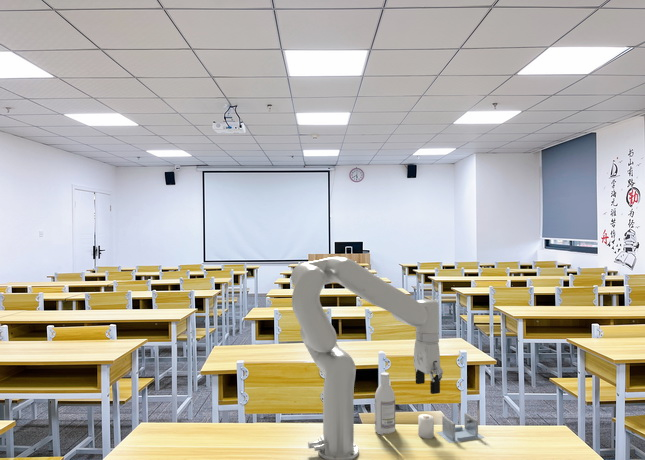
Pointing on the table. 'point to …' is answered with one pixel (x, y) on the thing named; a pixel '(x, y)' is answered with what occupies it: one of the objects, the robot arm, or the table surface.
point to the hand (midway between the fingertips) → (427, 388)
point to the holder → (460, 435)
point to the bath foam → (384, 407)
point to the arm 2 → (471, 425)
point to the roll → (426, 426)
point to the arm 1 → (448, 428)
